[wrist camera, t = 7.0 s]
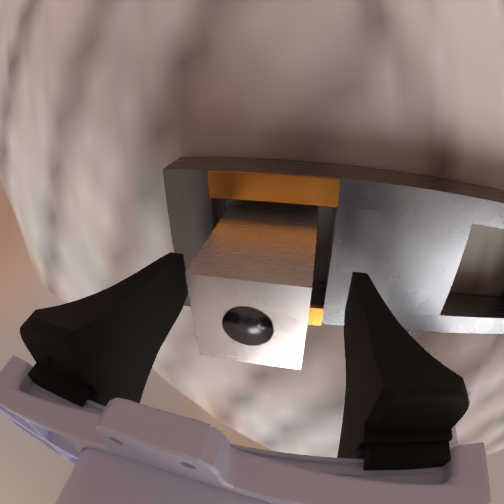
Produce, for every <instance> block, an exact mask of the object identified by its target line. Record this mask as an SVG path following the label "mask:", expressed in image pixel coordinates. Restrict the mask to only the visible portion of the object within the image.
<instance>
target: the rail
mask: <svg viewBox="0 0 504 504" xmlns="http://www.w3.org/2000/svg"><path fill="white" fill-rule="evenodd" d="M163 175H164V183H165V191H166V199H167V206H168V213H169V220H170V227H171V234H172V240H173V246H174V252H175V253H180V254H183V256H184V262H185V269H186V271H187V270H188V268H189V266H190V265H191V263H192V262H193V260H194V259H195V257H196V256H197V254H198V253H199V251H200V250H201V248H202V247H203V245H204V243H205V242H206V240H207V239H208V237H209V236H210V234H211V233H212V231H213V230H214V228H215V227H216V225H217V224H218V222H219V221H220V219H221V218H222V216H223V215H224V213H225V212H226V210H225V199H239V200H254V201H268V202H281V203H294V204H305V205H317V206H327V207H334V216H333V225H332V234H331V242H330V250H329V258H328V265H327V273H326V280H325V283H322V282H313V284H312V293H311V301H310V309H309V316H308V325H317V326H321V324H330V325H341V326H344V317H345V307H346V302H347V298H348V293H349V288H350V283H351V278H352V273H353V272H360V273H367V274H368V275H369V276H370V278H371V280H372V282H373V284H374V285H375V287H376V289H377V290H378V292H379V294H380V295H381V297H382V299H383V300H384V302H385V303H386V305H387V306H388V308H389V309H390V311H391V312H392V314H393V315H394V316H395V318H396V319H397V320H398V322H399V323H400V324H401V325H402V327H403V328H404V329H405V330H406V331H424V332H446V333H484V334H504V294H503V296H502V298H499V297H485V296H471V295H457V294H449V291H450V288H451V286H452V283H453V281H454V278H455V275H456V273H457V270H458V267H459V264H460V261H461V258H462V255H463V252H464V249H465V246H466V243H467V240H468V237H469V233H470V230H471V227H472V224H478V225H484V226H490V227H496V228H502V229H504V191H500V190H496V189H491V188H487V187H482V186H477V185H472V184H467V183H462V182H457V181H452V180H446V179H440V178H435V177H429V176H423V175H416V174H410V173H403V172H396V171H389V170H381V169H373V168H365V167H356V166H347V165H337V164H326V163H315V162H302V161H287V160H270V159H248V158H204V157H180V158H179V159H177V160H176V161H174V162H173V163H171V164H170V165H169V166H167V167H166V168H164V169H163ZM184 305H185V306H191V304H190V299H189V293H188V295H187V298H186V300H185V303H184Z"/></svg>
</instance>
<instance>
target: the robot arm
mask: <svg viewBox="0 0 504 504" xmlns="http://www.w3.org/2000/svg"><path fill="white" fill-rule="evenodd" d="M185 273H186V269H185V262H184V256H183V254H180V253H169V254H167V255H165V256H163V257H161V258H160V259H158V260H156V261H155V262H153V263H152V264H150V265H148V266H147V267H145V268H143V269H142V270H140V271H138V272H137V273H135V274H133V275H132V276H130V277H128V278H126V279H124V280H123V281H121V282H119V283H117V284H115V285H113V286H111V287H109V288H107V289H105V290H103V291H101V292H98V293H96V294H93V295H91V296H88V297H85V298H83V299H80V300H77V301H74V302H70V303H67V304H63V305H59V306H55V307H49V308H44V309H38V310H35V311H34V312H33V313H32V315H31V316H30V317H29V318H28V319H27V321H25V322H24V324H23V325H22V326H21V327H20V334H21V337H22V340H23V341H24V343H25V345H26V347H27V348H28V350H29V351H30V353H31V355H32V356H33V358H34V359H35V360H36V362H37V363H36V364H35V365H34V367H32V366H31V365H30V364H29V363H28V362H26V361H24V360H22V359H20V358H18V357H16V356H12V358H11V359H10V360H9V362H8V363H7V364H6V365H5V366H4V368H3V369H2V370H1V372H0V410H1V411H2V412H3V413H4V414H5V416H6V417H8V419H9V420H10V421H11V422H12V423H13V424H14V425H16V426H17V427H19V428H20V429H22V430H23V431H24V432H26V433H27V434H29V435H30V436H32V437H33V438H35V439H36V440H37V441H39V442H40V443H42V444H43V445H45V446H46V447H48V448H49V449H51V450H52V451H54V452H55V453H57V454H59V455H60V456H62V457H63V458H65V459H67V460H68V461H70V462H71V463H73V464H75V467H74V469H73V470H72V472H71V474H70V476H69V478H68V480H67V482H66V484H65V486H64V488H63V490H62V492H61V494H60V496H59V498H58V500H57V501H56V503H55V504H489V503H490V502H491V500H490V487H489V476H488V468H487V460H486V453H485V446H484V443H482V442H481V443H474V444H466V445H459V446H458V442H457V434H456V428H455V424H456V423H457V422H458V421H459V420H460V419H461V418H462V417H463V415H464V414H465V412H466V411H467V409H468V407H469V404H470V401H469V399H468V395H467V390H466V387H465V384H464V381H463V378H462V377H461V376H459V375H458V374H456V373H455V372H453V371H452V370H450V369H448V368H447V367H445V366H444V365H443V364H441V363H440V362H439V361H438V360H436V359H435V358H434V357H433V356H431V355H430V354H429V353H428V352H427V351H426V350H425V349H423V348H422V347H421V346H420V345H419V344H418V343H417V342H416V341H415V340H414V339H413V338H412V337H411V336H410V335H409V333H408V332H407V331H406V330H405V329H404V328H403V327H402V325H401V324H400V323H399V322H398V320H397V319H396V318H395V316H394V315H393V314H392V312H391V311H390V309H389V308H388V306H387V305H386V303H385V302H384V300H383V299H382V297H381V295H380V294H379V292H378V290H377V289H376V287H375V285H374V284H373V282H372V280H371V278H370V276H369V275H368V274H367V273H360V272H353V273H352V278H351V283H350V288H349V293H348V298H347V302H346V307H345V317H344V342H345V359H346V393H345V405H344V414H343V423H342V431H341V438H340V444H339V450H338V456H337V458H331V457H318V456H308V455H298V454H290V453H282V452H275V451H268V450H261V449H256V448H250V447H244V446H240V445H234V444H230V442H229V440H228V439H227V438H226V436H225V435H224V434H223V432H222V431H220V430H218V429H217V428H215V427H213V426H212V425H210V424H207V423H204V422H201V421H199V420H196V419H192V418H188V417H184V416H181V415H177V414H173V413H170V412H166V411H162V410H159V409H155V408H153V407H149V406H146V405H143V404H140V400H141V397H142V393H143V390H144V387H145V384H146V381H147V379H148V376H149V373H150V370H151V368H152V365H153V363H154V361H155V358H156V356H157V353H158V351H159V349H160V347H161V345H162V344H163V342H164V340H165V338H166V337H167V335H168V333H169V331H170V330H171V328H172V326H173V324H174V323H175V321H176V319H177V317H178V315H179V314H180V312H181V310H182V308H183V305H184V303H185V300H186V298H187V295H188V287H187V281H186V275H185Z"/></svg>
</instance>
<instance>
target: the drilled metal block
mask: <svg viewBox="0 0 504 504" xmlns="http://www.w3.org/2000/svg"><path fill="white" fill-rule="evenodd" d="M318 208H319V206H317V205H305V204H294V203H281V202H268V201H254V200H239V199H234V200H233V202H232V203H231V205H230V206H229V208H228V209H227V210H226V212H225V213H224V215H223V216H222V218H221V219H220V221H219V222H218V224H217V225H216V227H215V228H214V230H213V231H212V233H211V234H210V236H209V237H208V239H207V240H206V242H205V243H204V245H203V247H202V248H201V250H200V251H199V253H198V254H197V256H196V257H195V259H194V260H193V262H192V263H191V265H190V266H189V268H188V270H187V271H186V273H185V275H186V281H187V287H188V293H189V299H190V304H191V310H192V315H193V321H194V326H195V331H196V337H197V342H198V347H199V352H200V354H201V355H206V356H212V357H217V358H223V359H228V360H234V361H240V362H247V363H253V364H260V365H267V366H274V367H282V368H290V369H298V370H301V365H302V358H303V352H304V345H305V338H306V331H307V324H308V316H309V309H310V301H311V293H312V284H313V273H314V262H315V250H316V237H317V223H318Z"/></svg>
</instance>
